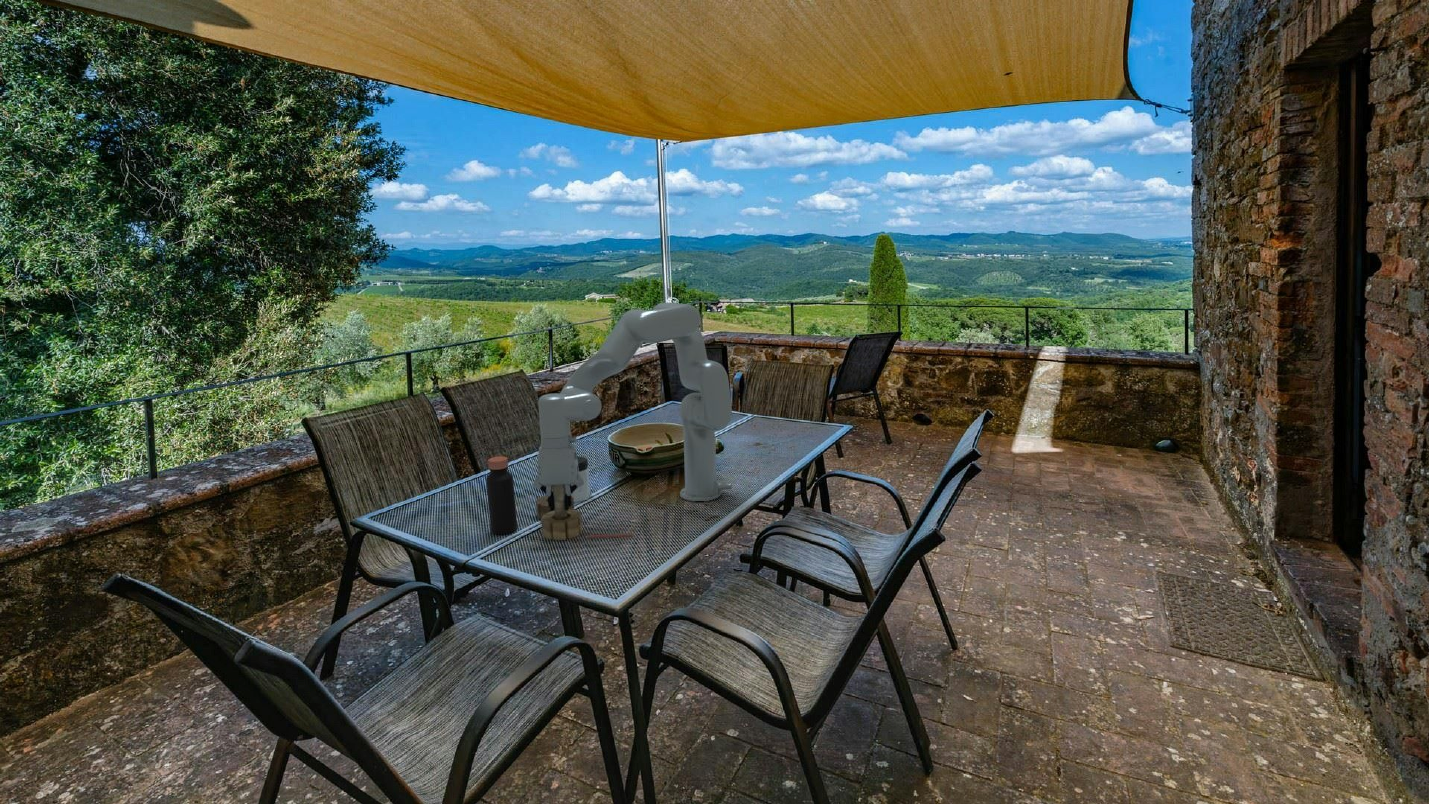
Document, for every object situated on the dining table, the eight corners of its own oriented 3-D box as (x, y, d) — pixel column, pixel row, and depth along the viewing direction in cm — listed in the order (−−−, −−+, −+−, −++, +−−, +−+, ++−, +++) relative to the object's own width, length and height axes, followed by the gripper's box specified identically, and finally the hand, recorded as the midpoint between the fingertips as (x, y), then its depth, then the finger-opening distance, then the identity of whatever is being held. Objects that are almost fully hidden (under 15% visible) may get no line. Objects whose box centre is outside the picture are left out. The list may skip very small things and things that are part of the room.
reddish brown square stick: (633, 535, 171) (633, 533, 171) (633, 536, 170) (633, 534, 170) (587, 537, 170) (587, 535, 170) (587, 538, 169) (586, 536, 169)
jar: (567, 505, 193) (564, 466, 191) (557, 497, 200) (554, 459, 197) (595, 498, 198) (593, 460, 195) (584, 491, 205) (582, 454, 202)
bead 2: (584, 523, 179) (583, 508, 178) (579, 539, 169) (578, 522, 168) (547, 525, 178) (545, 510, 177) (540, 540, 168) (538, 524, 167)
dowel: (568, 517, 174) (565, 474, 172) (566, 521, 171) (563, 478, 169) (556, 517, 174) (553, 474, 172) (553, 522, 171) (550, 478, 169)
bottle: (492, 537, 171) (485, 464, 167) (489, 528, 177) (483, 457, 173) (519, 532, 174) (512, 460, 170) (515, 523, 180) (509, 454, 176)
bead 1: (568, 505, 193) (567, 491, 192) (577, 517, 184) (576, 501, 183) (534, 511, 188) (533, 497, 187) (541, 523, 179) (540, 508, 178)
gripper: (590, 437, 172) (593, 502, 176) (526, 438, 171) (531, 505, 175) (586, 444, 165) (590, 513, 169) (520, 446, 164) (525, 515, 168)
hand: (560, 508), depth 172 cm, fingers closed on dowel, 3 cm apart
